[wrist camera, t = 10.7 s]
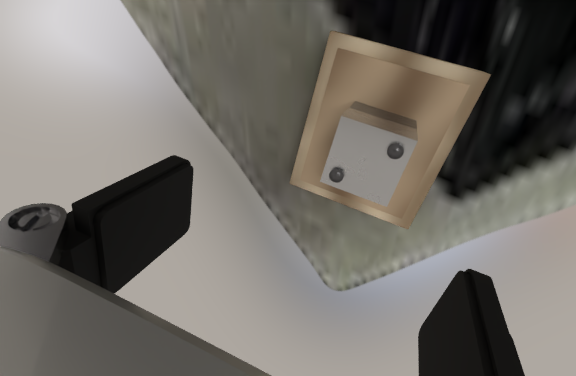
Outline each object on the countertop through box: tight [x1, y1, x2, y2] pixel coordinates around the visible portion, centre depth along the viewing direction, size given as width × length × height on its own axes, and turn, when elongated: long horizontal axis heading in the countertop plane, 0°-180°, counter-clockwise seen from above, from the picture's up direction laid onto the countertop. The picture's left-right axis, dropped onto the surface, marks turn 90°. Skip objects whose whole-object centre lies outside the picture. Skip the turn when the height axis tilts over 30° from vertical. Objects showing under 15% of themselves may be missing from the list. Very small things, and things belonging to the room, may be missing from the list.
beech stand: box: [290, 31, 491, 229], centre depth 27 cm, size 12×14×3 cm
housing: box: [320, 101, 418, 207], centre depth 23 cm, size 5×5×6 cm
